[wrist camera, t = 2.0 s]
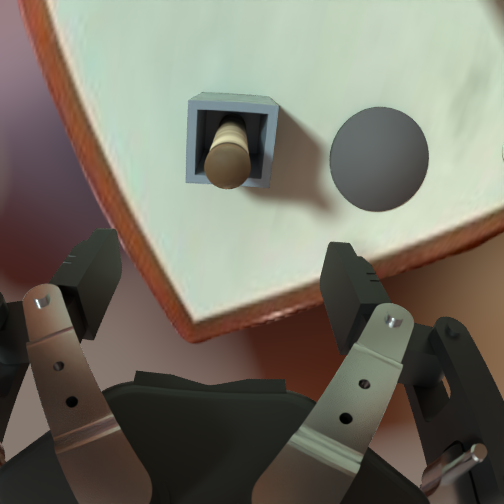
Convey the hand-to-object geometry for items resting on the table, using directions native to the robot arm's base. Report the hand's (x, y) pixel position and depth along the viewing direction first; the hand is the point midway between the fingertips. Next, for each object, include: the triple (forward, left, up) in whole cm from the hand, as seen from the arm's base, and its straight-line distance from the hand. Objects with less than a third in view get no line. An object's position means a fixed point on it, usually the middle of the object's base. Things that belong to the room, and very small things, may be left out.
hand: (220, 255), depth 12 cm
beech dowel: (0, 0, -27) cm, 27 cm away
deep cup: (0, 0, -28) cm, 28 cm away
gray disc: (+2, +19, -28) cm, 33 cm away
